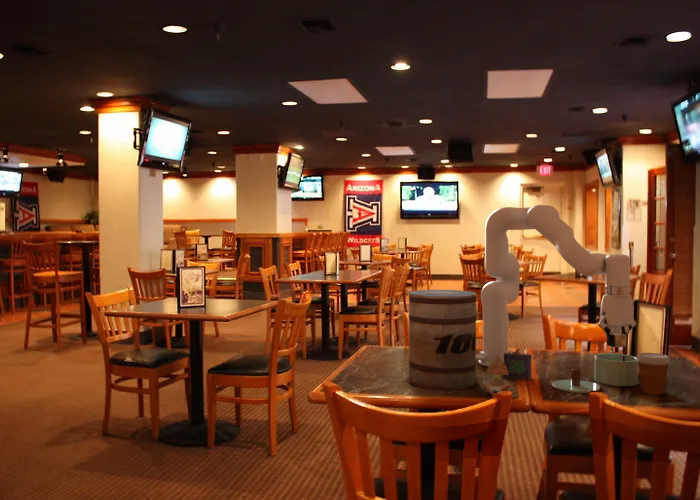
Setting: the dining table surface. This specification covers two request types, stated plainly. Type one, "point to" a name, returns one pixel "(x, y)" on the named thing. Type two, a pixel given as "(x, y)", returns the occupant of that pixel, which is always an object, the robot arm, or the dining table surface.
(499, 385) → the oil lamp
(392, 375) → the dining table surface
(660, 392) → the disposable coffee cup
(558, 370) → the dining table surface
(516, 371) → the flask
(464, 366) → the barrel
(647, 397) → the dining table surface
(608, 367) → the canister
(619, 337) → the block
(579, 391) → the lid
